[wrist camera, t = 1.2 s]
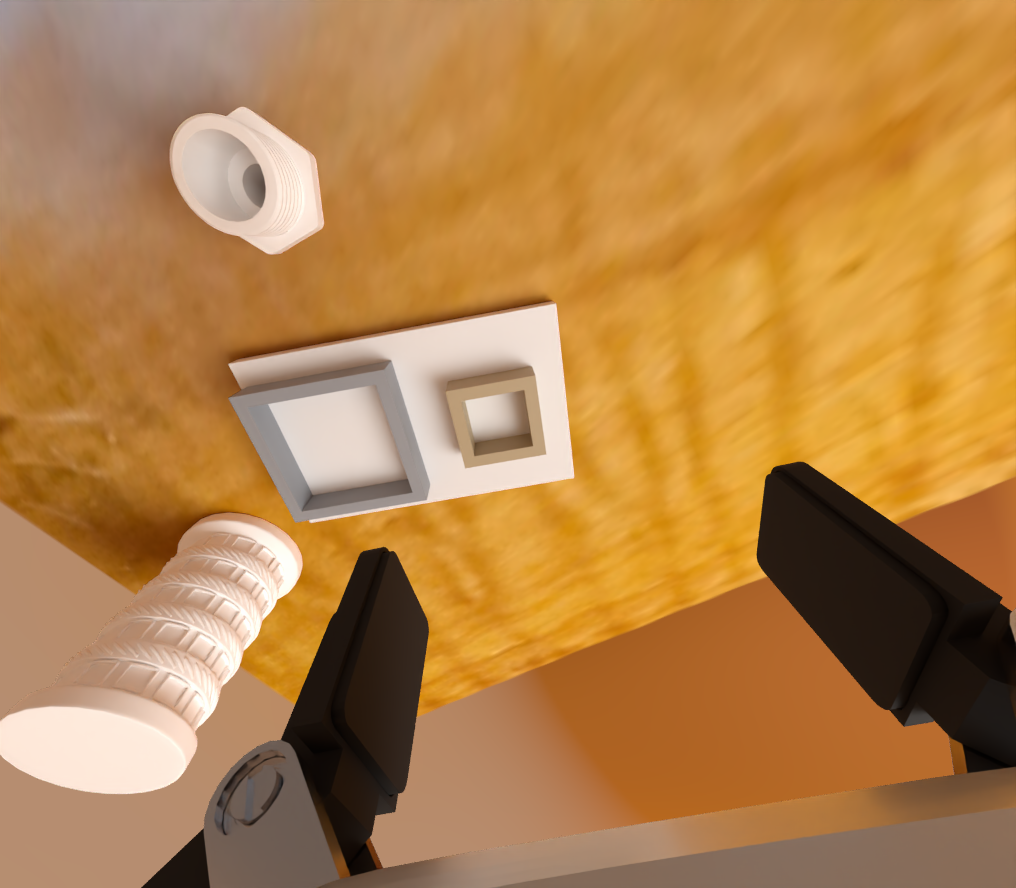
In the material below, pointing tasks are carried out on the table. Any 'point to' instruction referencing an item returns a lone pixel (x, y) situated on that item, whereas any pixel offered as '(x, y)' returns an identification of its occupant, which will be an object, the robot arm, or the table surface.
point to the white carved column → (156, 664)
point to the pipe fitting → (247, 179)
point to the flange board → (410, 413)
